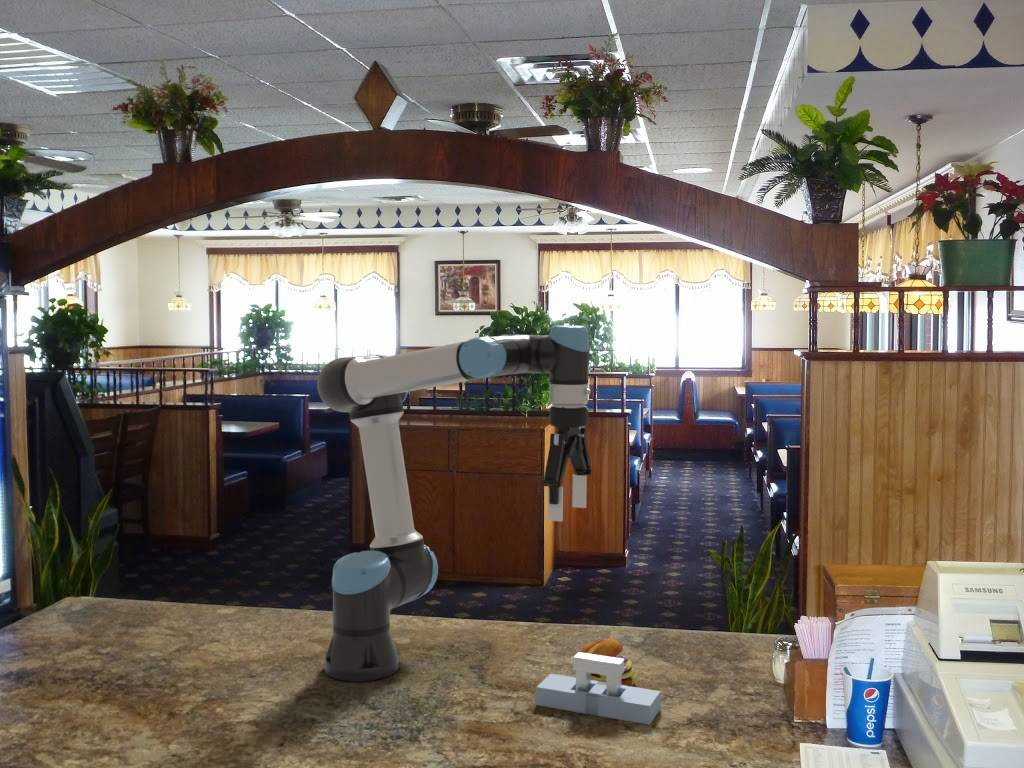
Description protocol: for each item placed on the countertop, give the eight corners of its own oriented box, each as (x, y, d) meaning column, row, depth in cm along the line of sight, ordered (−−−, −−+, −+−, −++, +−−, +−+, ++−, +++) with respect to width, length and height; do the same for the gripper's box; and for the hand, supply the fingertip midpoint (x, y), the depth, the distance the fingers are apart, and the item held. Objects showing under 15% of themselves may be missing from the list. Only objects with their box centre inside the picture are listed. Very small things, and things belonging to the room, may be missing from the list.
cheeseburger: (636, 694, 196) (624, 645, 195) (582, 702, 198) (571, 654, 198) (639, 674, 206) (628, 627, 205) (589, 682, 208) (577, 636, 207)
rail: (536, 704, 191) (536, 686, 190) (550, 690, 197) (550, 673, 197) (649, 724, 182) (649, 706, 182) (660, 709, 189) (660, 691, 189)
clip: (572, 706, 190) (573, 657, 189) (578, 700, 193) (578, 652, 192) (618, 714, 187) (619, 664, 186) (623, 708, 189) (624, 658, 188)
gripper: (564, 412, 182) (563, 528, 184) (607, 400, 205) (605, 503, 207) (526, 410, 185) (525, 524, 187) (572, 398, 208) (571, 500, 210)
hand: (567, 513), depth 197 cm, fingers open, 13 cm apart
